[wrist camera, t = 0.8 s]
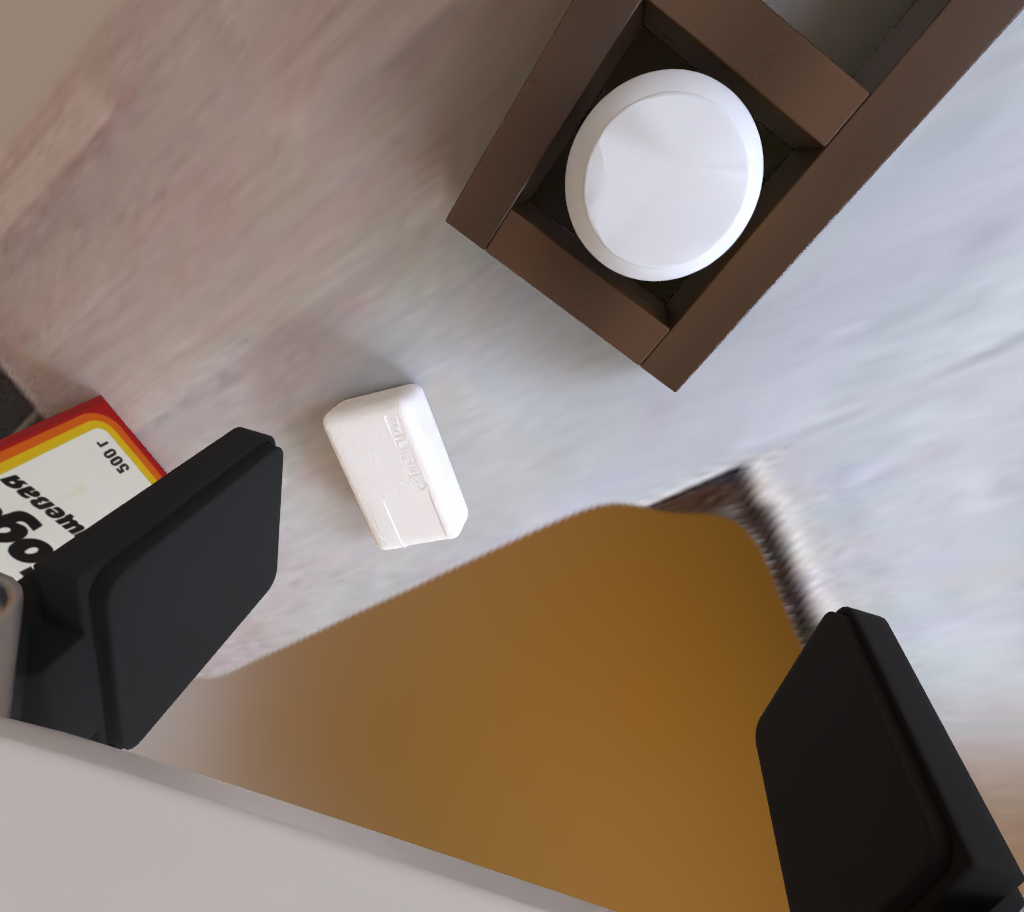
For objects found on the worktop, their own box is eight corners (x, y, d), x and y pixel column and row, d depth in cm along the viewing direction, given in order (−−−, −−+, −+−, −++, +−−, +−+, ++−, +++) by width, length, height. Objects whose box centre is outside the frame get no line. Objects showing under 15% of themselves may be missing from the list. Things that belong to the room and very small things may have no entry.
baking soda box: (42, 438, 41) (-273, 585, 27) (100, 395, 38) (-211, 532, 24) (140, 547, 44) (-99, 733, 29) (200, 513, 41) (-28, 698, 27)
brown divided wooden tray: (473, 211, 30) (444, 221, 25) (841, -404, 20) (901, -567, 15) (670, 360, 31) (675, 393, 27) (1109, -144, 21) (1235, -225, 17)
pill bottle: (752, 206, 27) (822, 235, 17) (620, 276, 30) (612, 338, 19) (695, 59, 26) (734, -7, 15) (558, 146, 28) (512, 139, 18)
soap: (337, 398, 36) (313, 418, 33) (422, 377, 34) (404, 396, 31) (394, 529, 39) (376, 556, 36) (473, 514, 37) (461, 542, 35)
